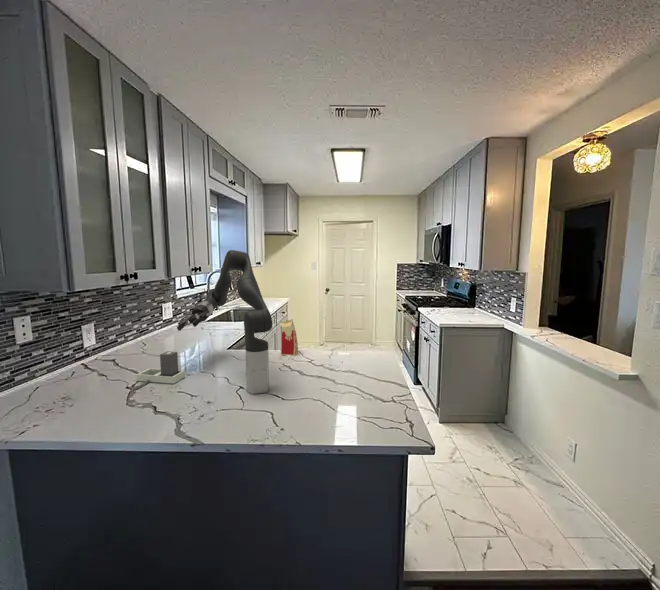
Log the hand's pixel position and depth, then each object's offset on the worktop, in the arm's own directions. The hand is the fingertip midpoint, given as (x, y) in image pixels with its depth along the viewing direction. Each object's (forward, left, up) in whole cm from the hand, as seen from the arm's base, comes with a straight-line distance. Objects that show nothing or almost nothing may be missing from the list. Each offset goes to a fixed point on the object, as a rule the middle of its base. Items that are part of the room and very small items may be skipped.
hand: (186, 327), depth 155 cm
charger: (-5, +7, -22) cm, 24 cm away
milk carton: (+17, -52, -23) cm, 59 cm away
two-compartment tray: (-7, +13, -23) cm, 27 cm away
